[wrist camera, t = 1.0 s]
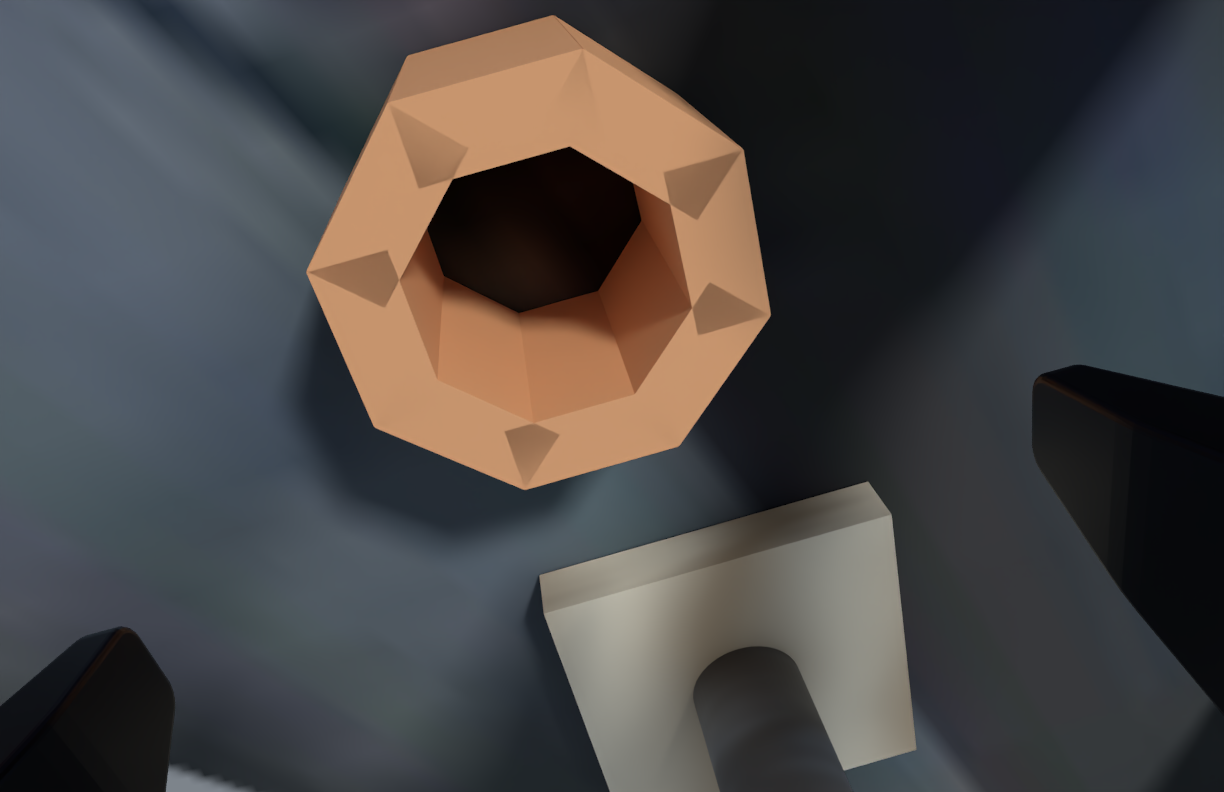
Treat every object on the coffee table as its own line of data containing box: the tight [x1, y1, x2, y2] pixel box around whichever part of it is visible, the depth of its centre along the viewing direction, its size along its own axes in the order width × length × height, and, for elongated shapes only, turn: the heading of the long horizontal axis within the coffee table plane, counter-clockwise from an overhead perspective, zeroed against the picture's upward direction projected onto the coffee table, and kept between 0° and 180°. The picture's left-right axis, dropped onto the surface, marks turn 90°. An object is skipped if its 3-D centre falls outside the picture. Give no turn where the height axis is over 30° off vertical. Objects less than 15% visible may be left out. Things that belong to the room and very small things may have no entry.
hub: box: [306, 15, 771, 490], centre depth 17 cm, size 7×7×5 cm
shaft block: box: [539, 482, 916, 792], centre depth 23 cm, size 9×9×6 cm
